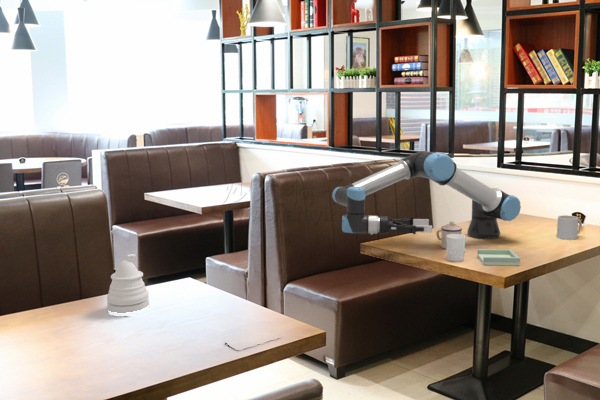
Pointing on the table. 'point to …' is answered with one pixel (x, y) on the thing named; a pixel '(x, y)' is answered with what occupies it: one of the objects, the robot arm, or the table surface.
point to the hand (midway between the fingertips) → (430, 225)
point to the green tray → (498, 257)
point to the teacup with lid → (448, 232)
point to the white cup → (455, 247)
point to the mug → (568, 227)
